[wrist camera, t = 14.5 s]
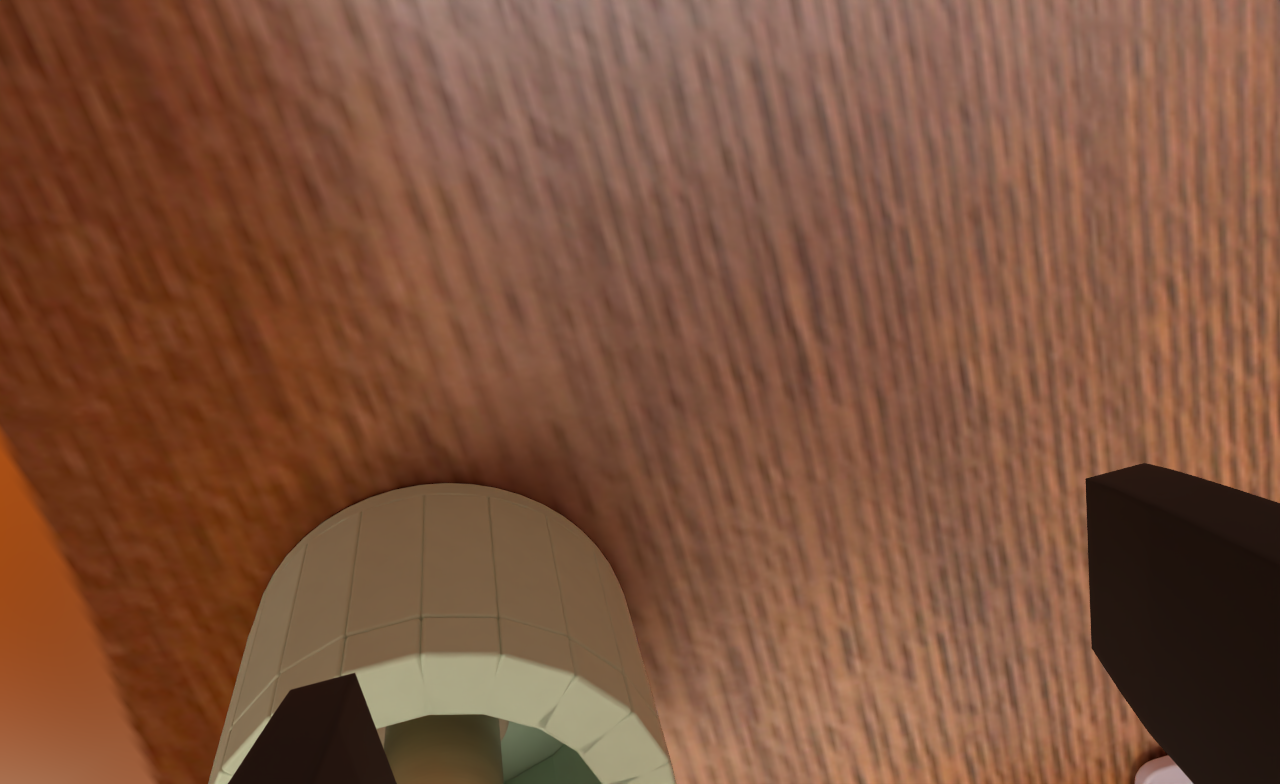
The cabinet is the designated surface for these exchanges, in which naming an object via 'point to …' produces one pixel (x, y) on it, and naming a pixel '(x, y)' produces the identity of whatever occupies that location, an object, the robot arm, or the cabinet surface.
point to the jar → (460, 633)
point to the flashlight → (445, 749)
